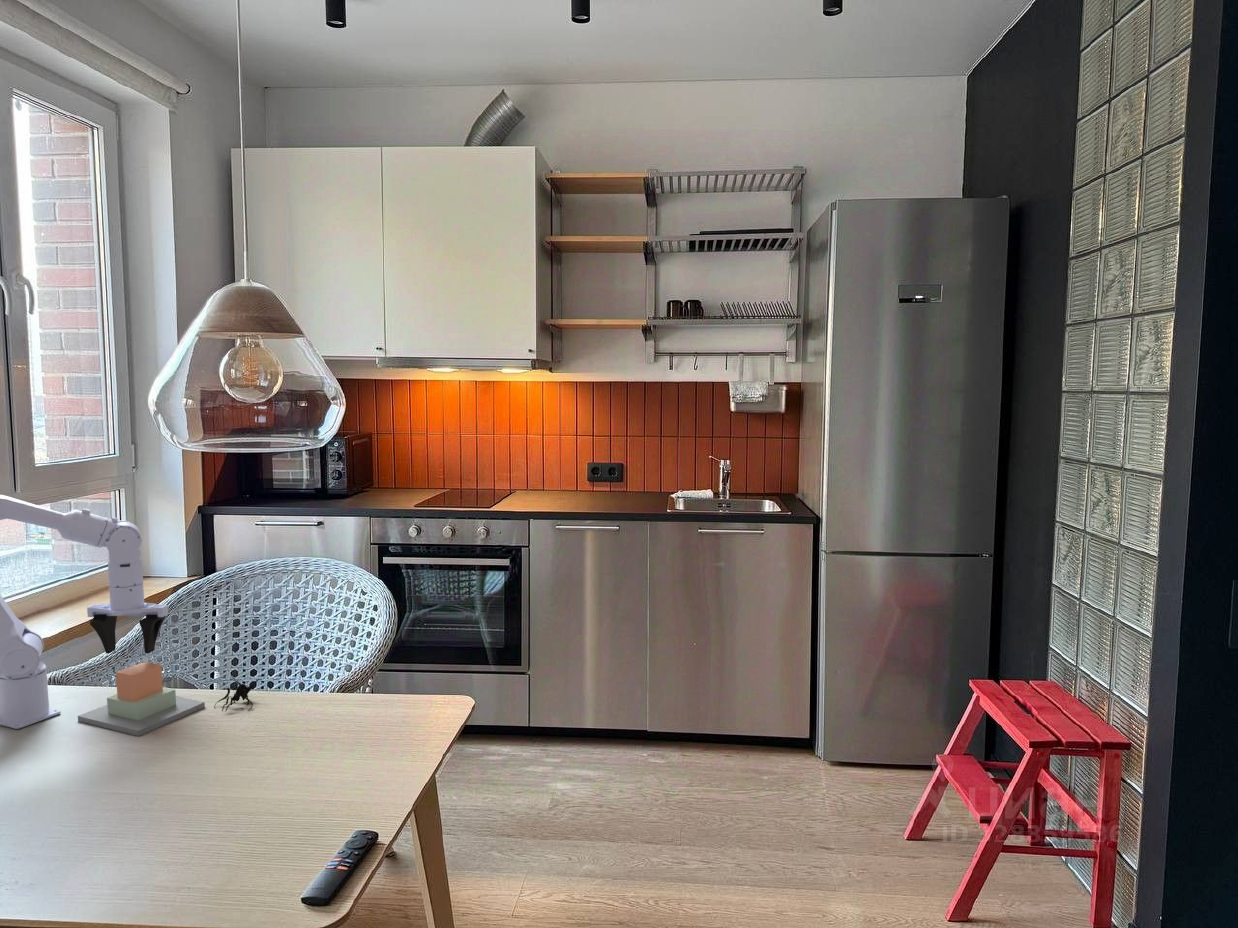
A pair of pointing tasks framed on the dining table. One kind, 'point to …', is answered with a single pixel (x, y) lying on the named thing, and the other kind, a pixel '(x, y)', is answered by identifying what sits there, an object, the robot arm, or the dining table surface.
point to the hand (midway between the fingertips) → (130, 651)
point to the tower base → (143, 723)
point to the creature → (238, 694)
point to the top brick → (139, 681)
